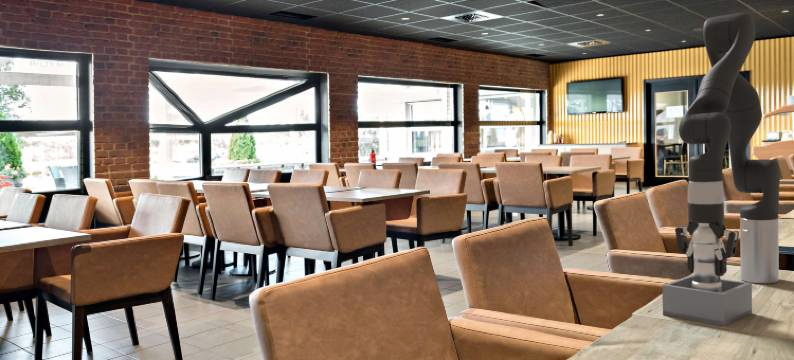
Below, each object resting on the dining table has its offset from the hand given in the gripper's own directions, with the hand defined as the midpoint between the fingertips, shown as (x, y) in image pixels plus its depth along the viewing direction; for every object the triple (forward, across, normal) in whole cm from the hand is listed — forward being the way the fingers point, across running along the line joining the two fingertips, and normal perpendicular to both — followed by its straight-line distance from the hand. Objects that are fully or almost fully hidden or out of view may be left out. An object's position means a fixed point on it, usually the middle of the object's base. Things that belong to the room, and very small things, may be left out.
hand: (706, 273), depth 154 cm
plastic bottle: (+7, 0, 0) cm, 7 cm away
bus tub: (+9, 0, 0) cm, 9 cm away
